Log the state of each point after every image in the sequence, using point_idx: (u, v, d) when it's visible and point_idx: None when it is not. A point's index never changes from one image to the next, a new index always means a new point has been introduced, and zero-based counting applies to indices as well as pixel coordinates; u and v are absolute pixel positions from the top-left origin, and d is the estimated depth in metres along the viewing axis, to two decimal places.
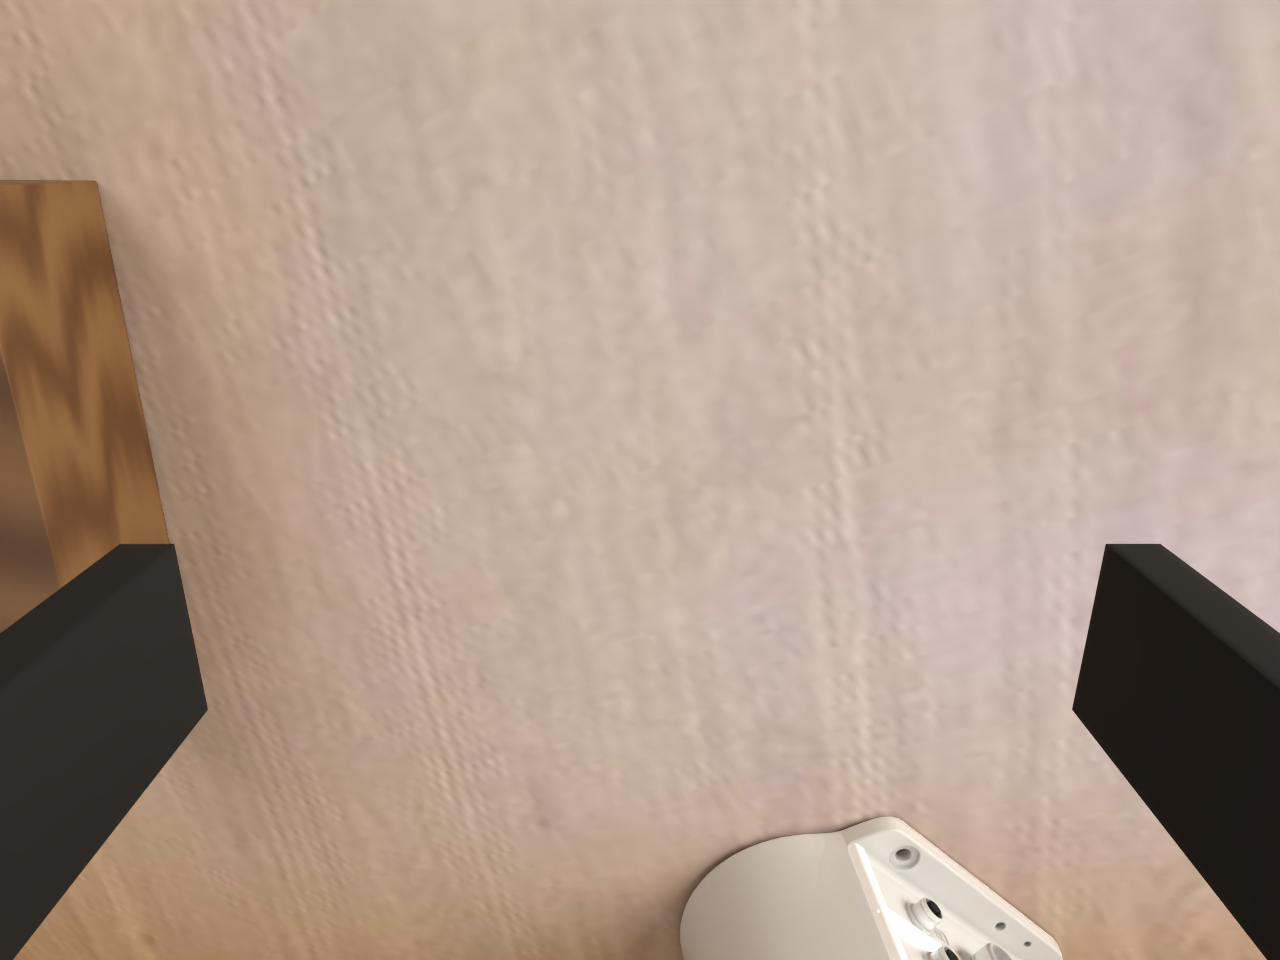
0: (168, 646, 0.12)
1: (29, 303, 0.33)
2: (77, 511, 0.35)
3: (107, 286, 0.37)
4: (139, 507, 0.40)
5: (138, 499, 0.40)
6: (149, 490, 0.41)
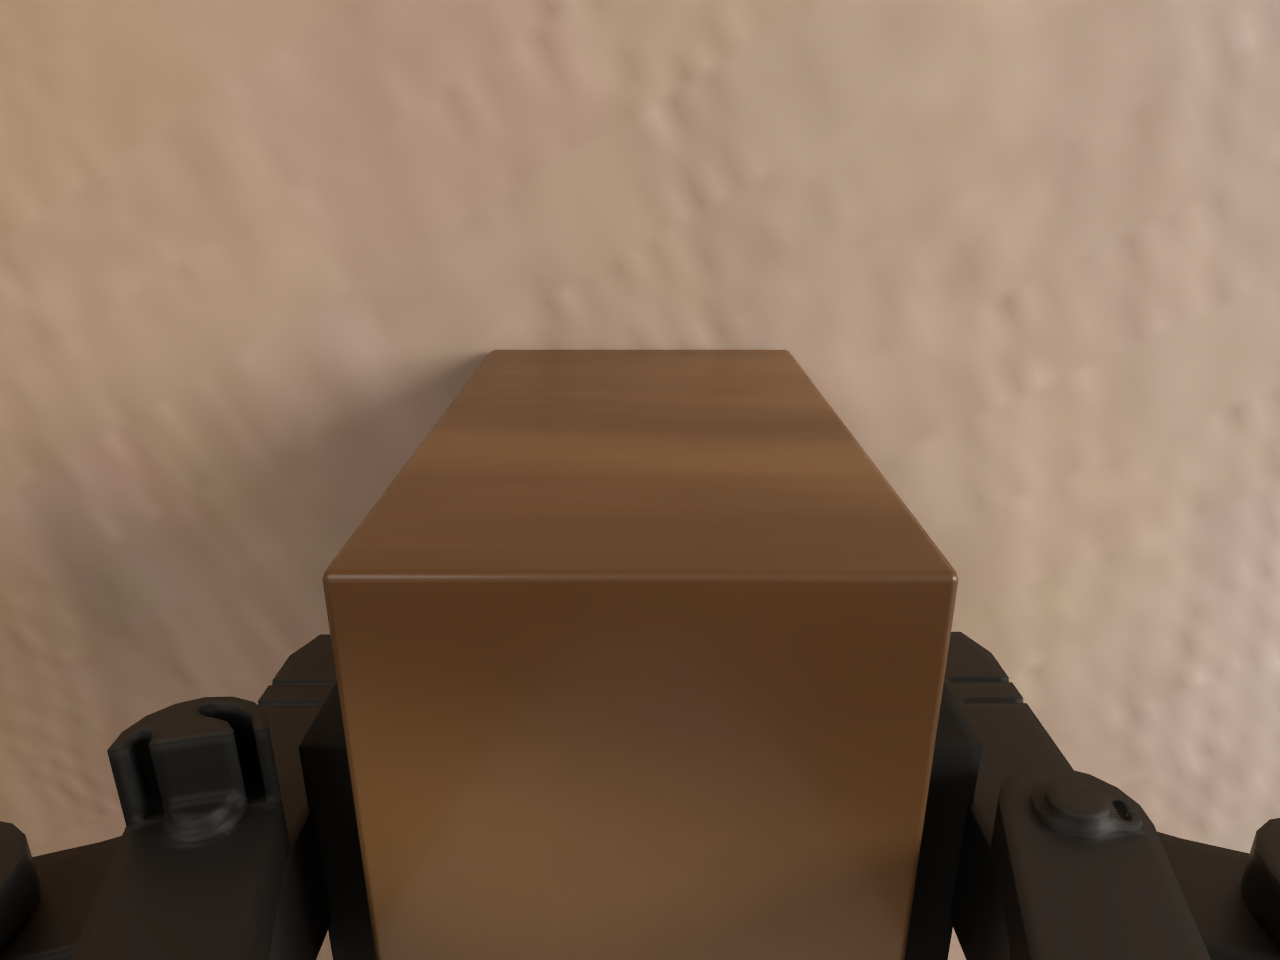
0: None
1: None
2: None
3: None
4: None
5: None
6: None
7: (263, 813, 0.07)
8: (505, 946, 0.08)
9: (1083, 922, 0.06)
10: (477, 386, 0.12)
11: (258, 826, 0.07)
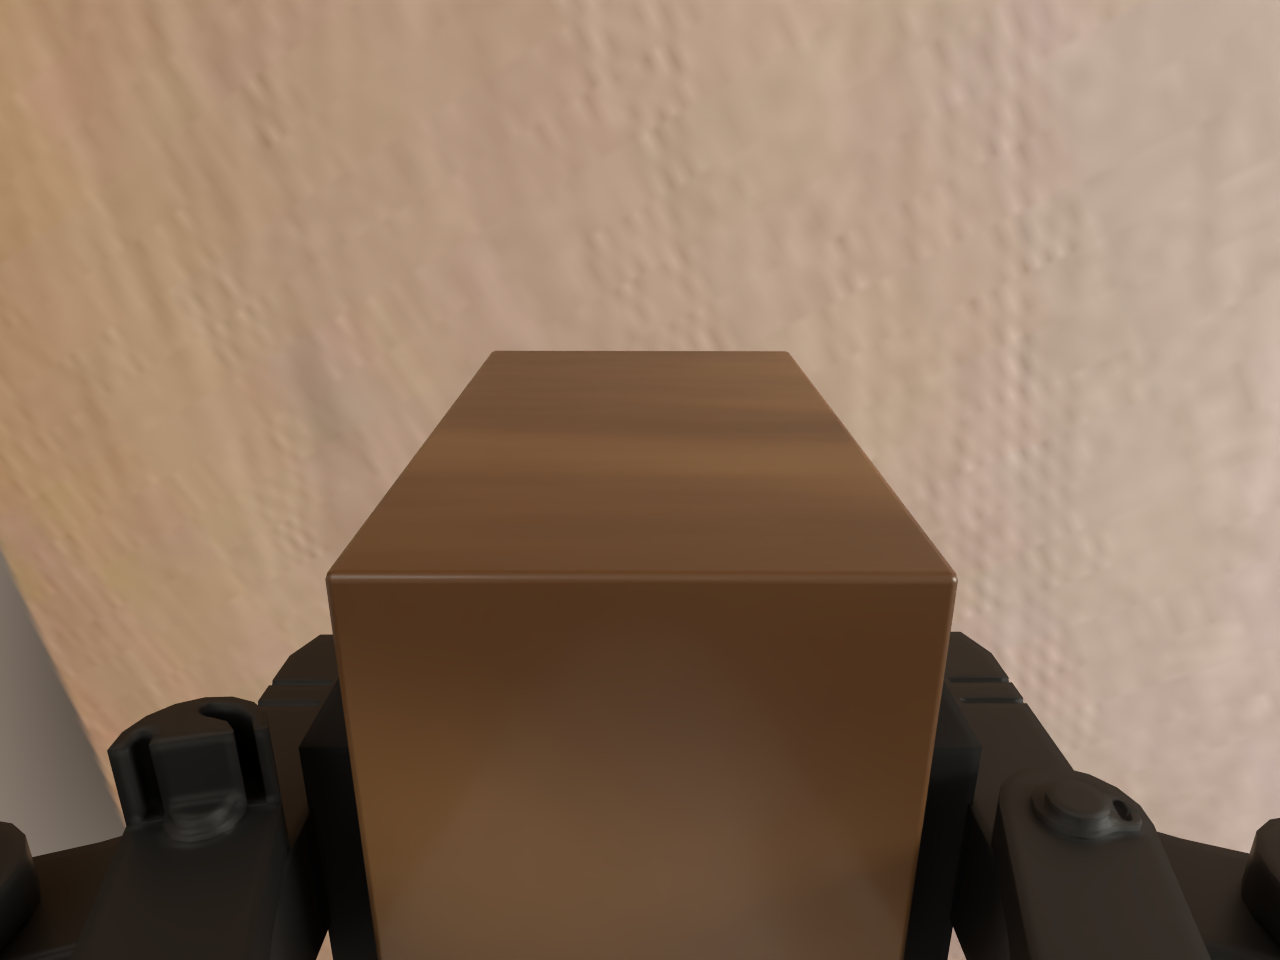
0: None
1: None
2: None
3: None
4: None
5: None
6: None
7: (263, 813, 0.07)
8: (504, 946, 0.08)
9: (1082, 922, 0.06)
10: (478, 387, 0.12)
11: (258, 826, 0.07)
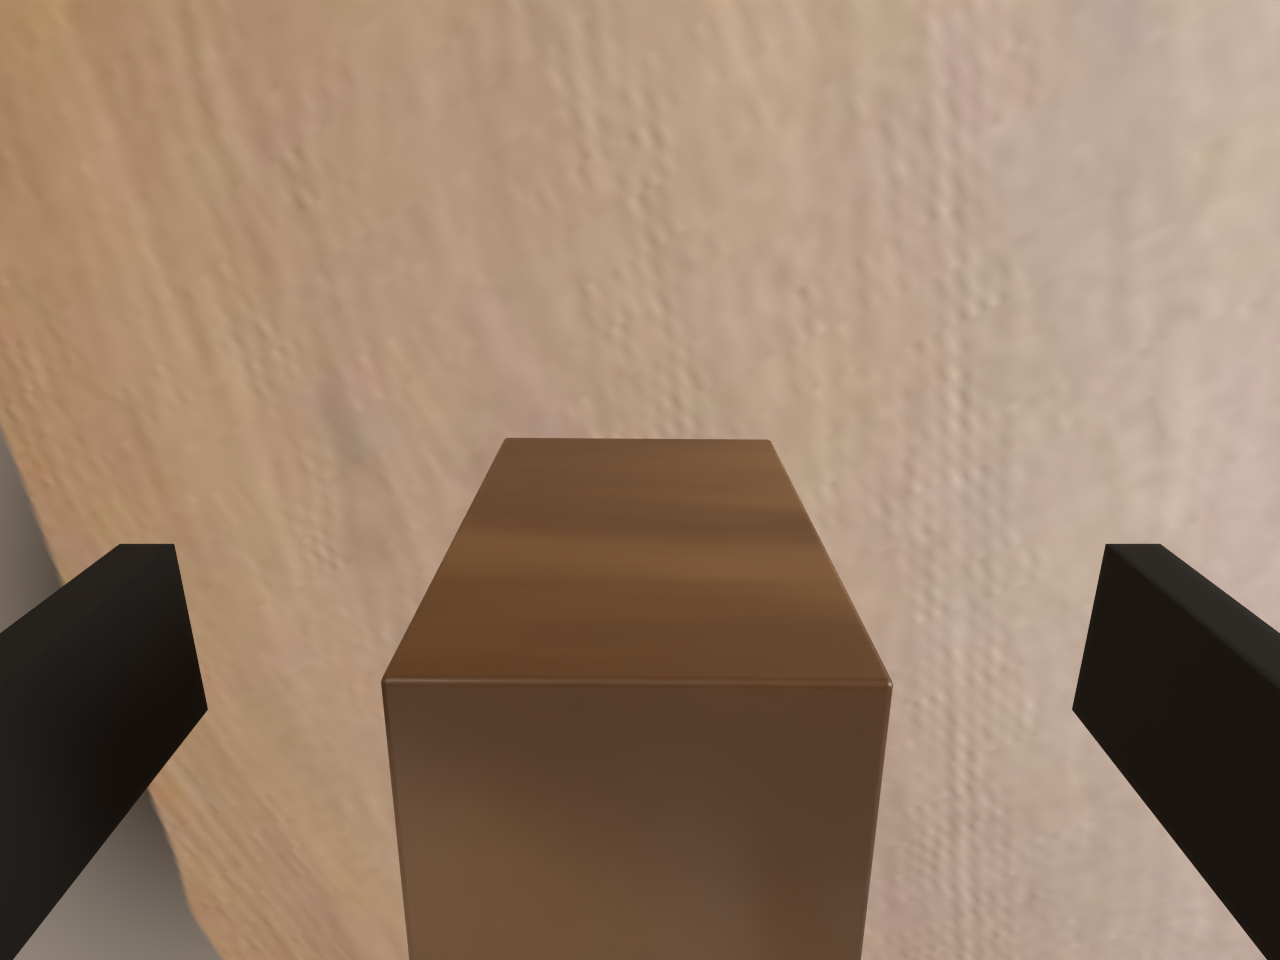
0: (168, 646, 0.12)
1: None
2: None
3: None
4: None
5: None
6: None
7: None
8: None
9: None
10: (494, 480, 0.13)
11: None
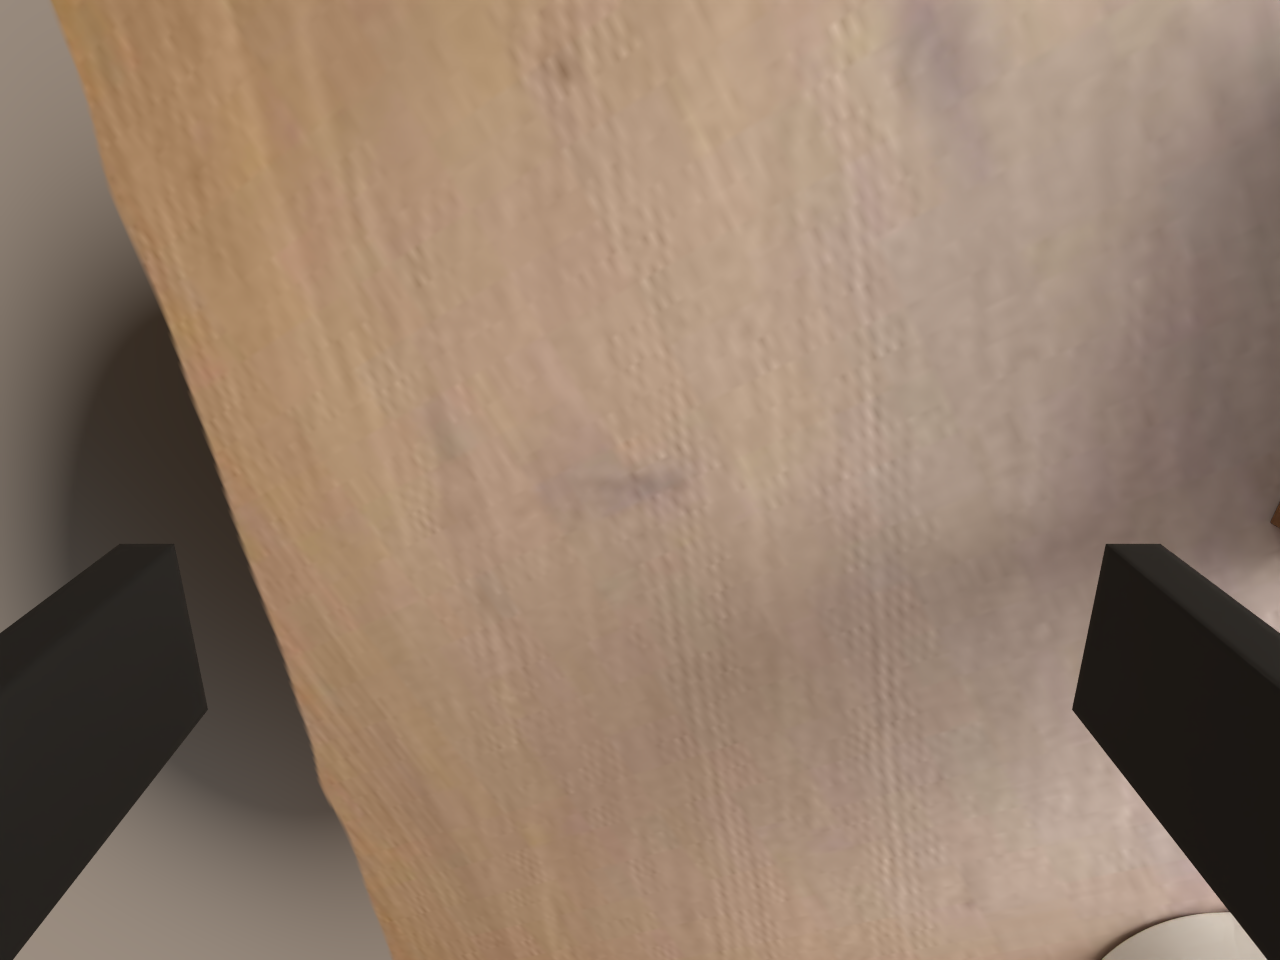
0: (168, 646, 0.12)
1: None
2: None
3: None
4: None
5: None
6: None
7: None
8: None
9: None
10: None
11: None
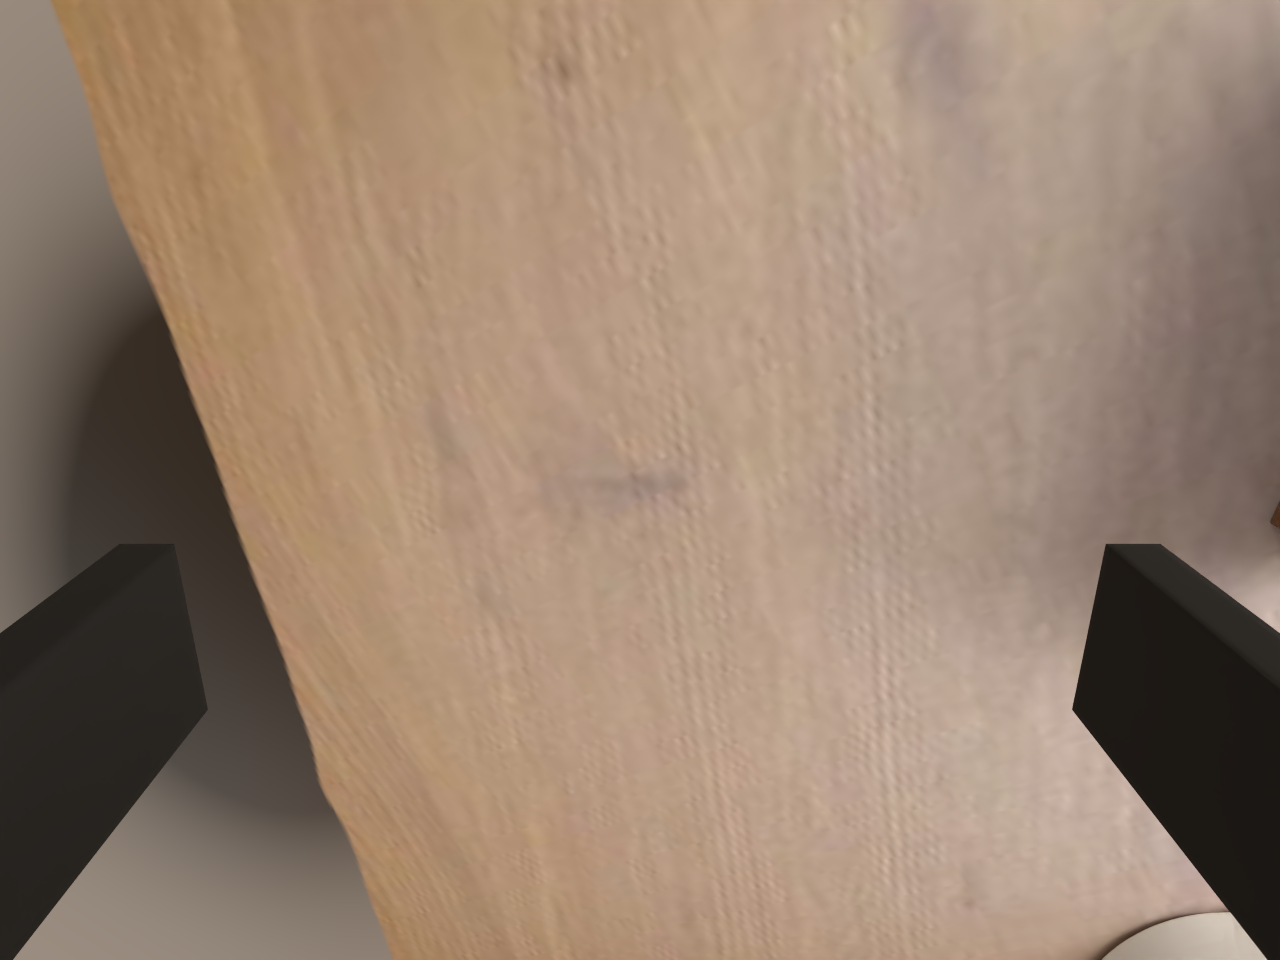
0: (168, 646, 0.12)
1: None
2: None
3: None
4: None
5: None
6: None
7: None
8: None
9: None
10: None
11: None
